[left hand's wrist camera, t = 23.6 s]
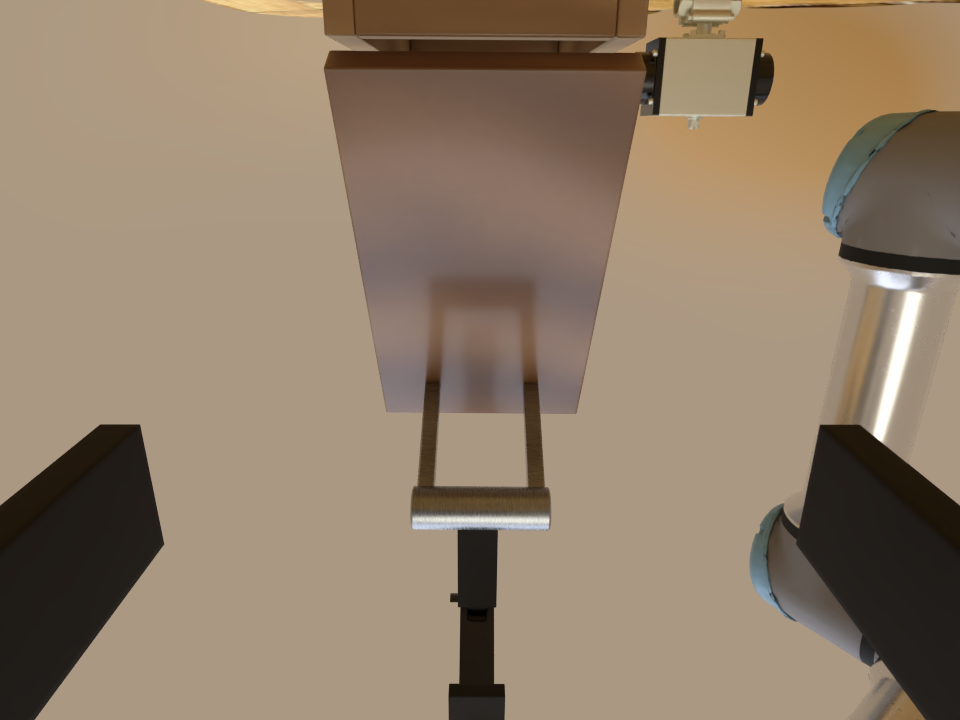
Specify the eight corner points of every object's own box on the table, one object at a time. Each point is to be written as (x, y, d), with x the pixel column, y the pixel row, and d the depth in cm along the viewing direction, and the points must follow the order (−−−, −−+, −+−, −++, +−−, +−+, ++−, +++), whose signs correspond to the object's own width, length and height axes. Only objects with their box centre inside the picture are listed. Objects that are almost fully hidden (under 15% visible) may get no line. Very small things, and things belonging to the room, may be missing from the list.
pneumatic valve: (647, -27, 54) (634, 128, 58) (790, -25, 54) (766, 129, 58) (633, -14, 59) (622, 127, 63) (762, -13, 59) (743, 128, 63)
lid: (574, 396, 33) (591, 551, 28) (388, 394, 33) (369, 549, 28) (641, 51, 20) (697, 225, 14) (328, 49, 20) (271, 222, 14)
